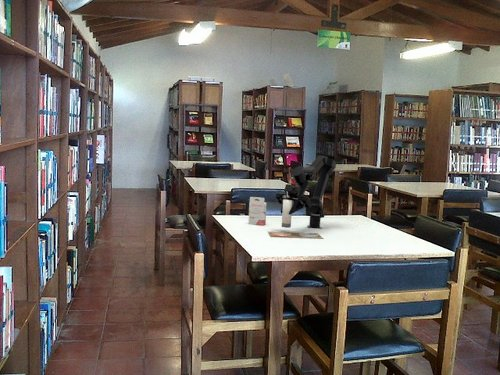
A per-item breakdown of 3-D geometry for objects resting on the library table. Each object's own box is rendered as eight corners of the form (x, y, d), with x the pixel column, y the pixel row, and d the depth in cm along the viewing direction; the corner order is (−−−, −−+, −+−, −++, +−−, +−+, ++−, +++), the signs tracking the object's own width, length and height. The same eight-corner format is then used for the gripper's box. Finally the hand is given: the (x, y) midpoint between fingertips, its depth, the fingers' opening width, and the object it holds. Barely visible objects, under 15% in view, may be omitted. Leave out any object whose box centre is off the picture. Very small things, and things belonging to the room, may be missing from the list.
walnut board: (267, 233, 251) (267, 231, 250) (317, 234, 253) (317, 233, 253) (270, 238, 238) (270, 237, 238) (323, 240, 240) (323, 238, 240)
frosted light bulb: (279, 226, 248) (281, 199, 247) (287, 225, 250) (289, 199, 248) (284, 227, 244) (286, 200, 243) (292, 227, 246) (294, 200, 244)
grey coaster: (297, 233, 250) (297, 232, 250) (315, 234, 251) (315, 233, 251) (300, 237, 241) (300, 236, 241) (319, 237, 242) (319, 237, 242)
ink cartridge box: (265, 224, 276) (267, 197, 274) (263, 225, 271) (265, 198, 270) (250, 222, 278) (251, 195, 277) (248, 224, 273) (249, 196, 272)
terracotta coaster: (270, 232, 249) (271, 231, 249) (289, 233, 249) (289, 232, 249) (273, 236, 240) (273, 235, 240) (292, 236, 241) (292, 236, 241)
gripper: (278, 176, 253) (263, 200, 246) (310, 180, 242) (295, 205, 234) (286, 191, 260) (272, 214, 253) (318, 195, 248) (303, 220, 241)
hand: (285, 213), depth 245 cm, fingers closed on frosted light bulb, 4 cm apart
